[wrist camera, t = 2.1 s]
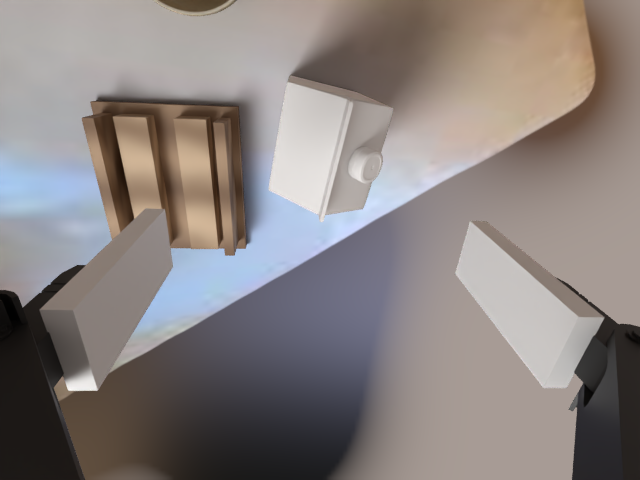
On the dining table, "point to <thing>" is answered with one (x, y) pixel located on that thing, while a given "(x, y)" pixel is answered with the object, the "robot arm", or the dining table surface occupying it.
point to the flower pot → (195, 6)
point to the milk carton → (328, 147)
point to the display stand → (171, 169)
